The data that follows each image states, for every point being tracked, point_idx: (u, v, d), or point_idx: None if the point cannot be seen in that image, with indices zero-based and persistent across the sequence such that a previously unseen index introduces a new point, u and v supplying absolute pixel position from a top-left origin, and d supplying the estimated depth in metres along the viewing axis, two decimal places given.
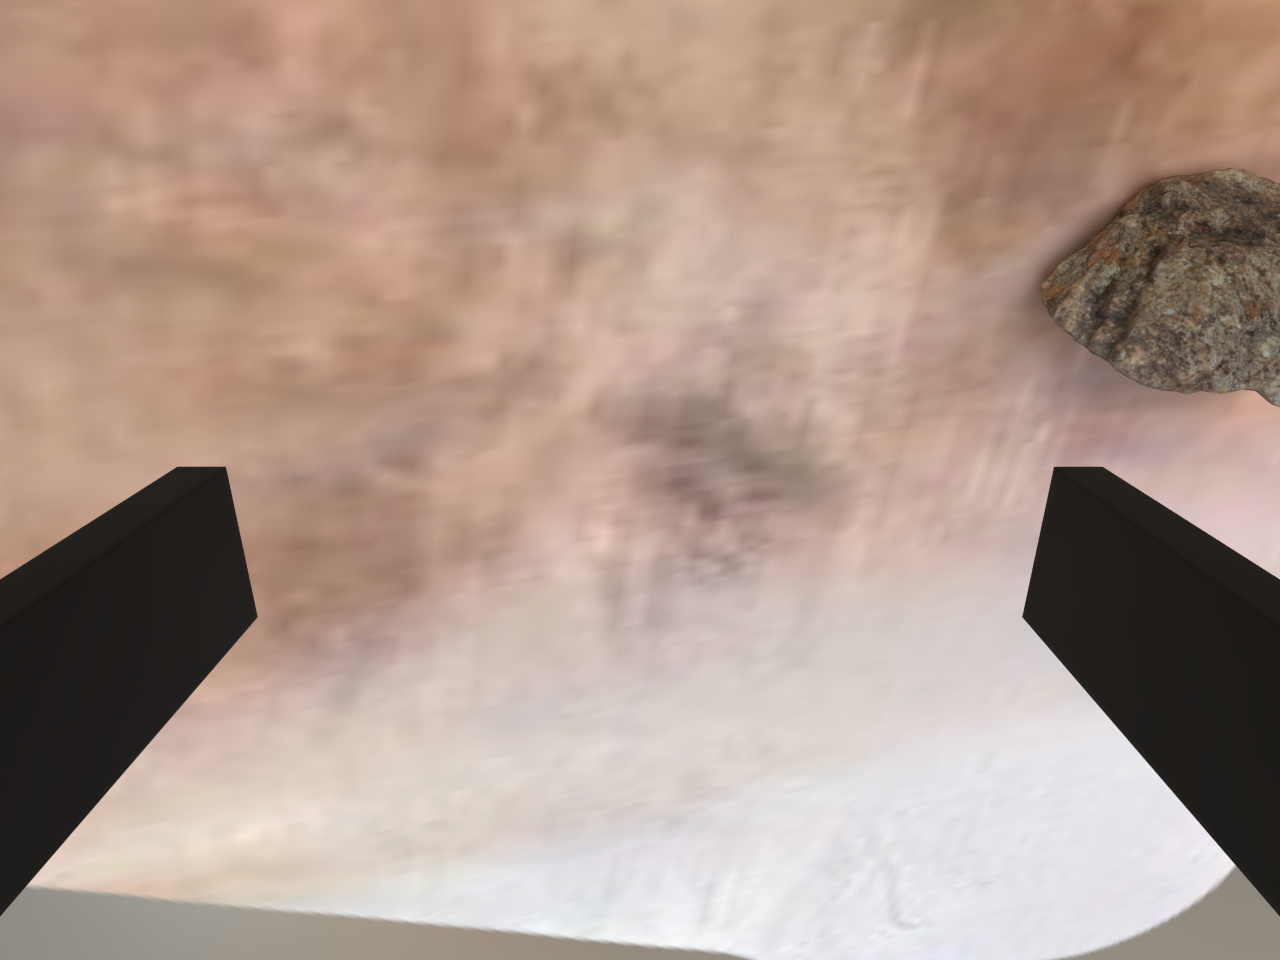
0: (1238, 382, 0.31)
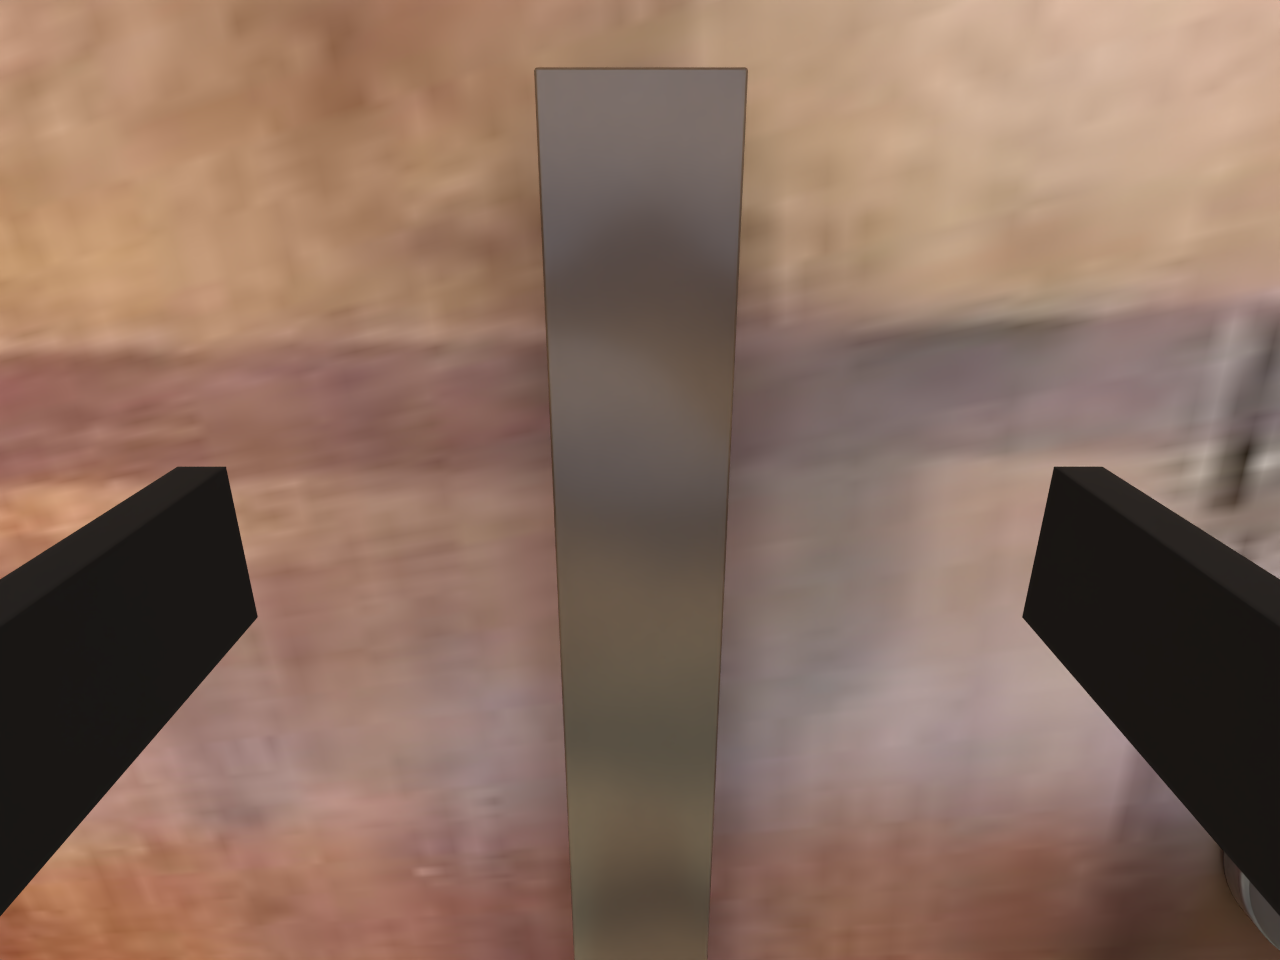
0: None
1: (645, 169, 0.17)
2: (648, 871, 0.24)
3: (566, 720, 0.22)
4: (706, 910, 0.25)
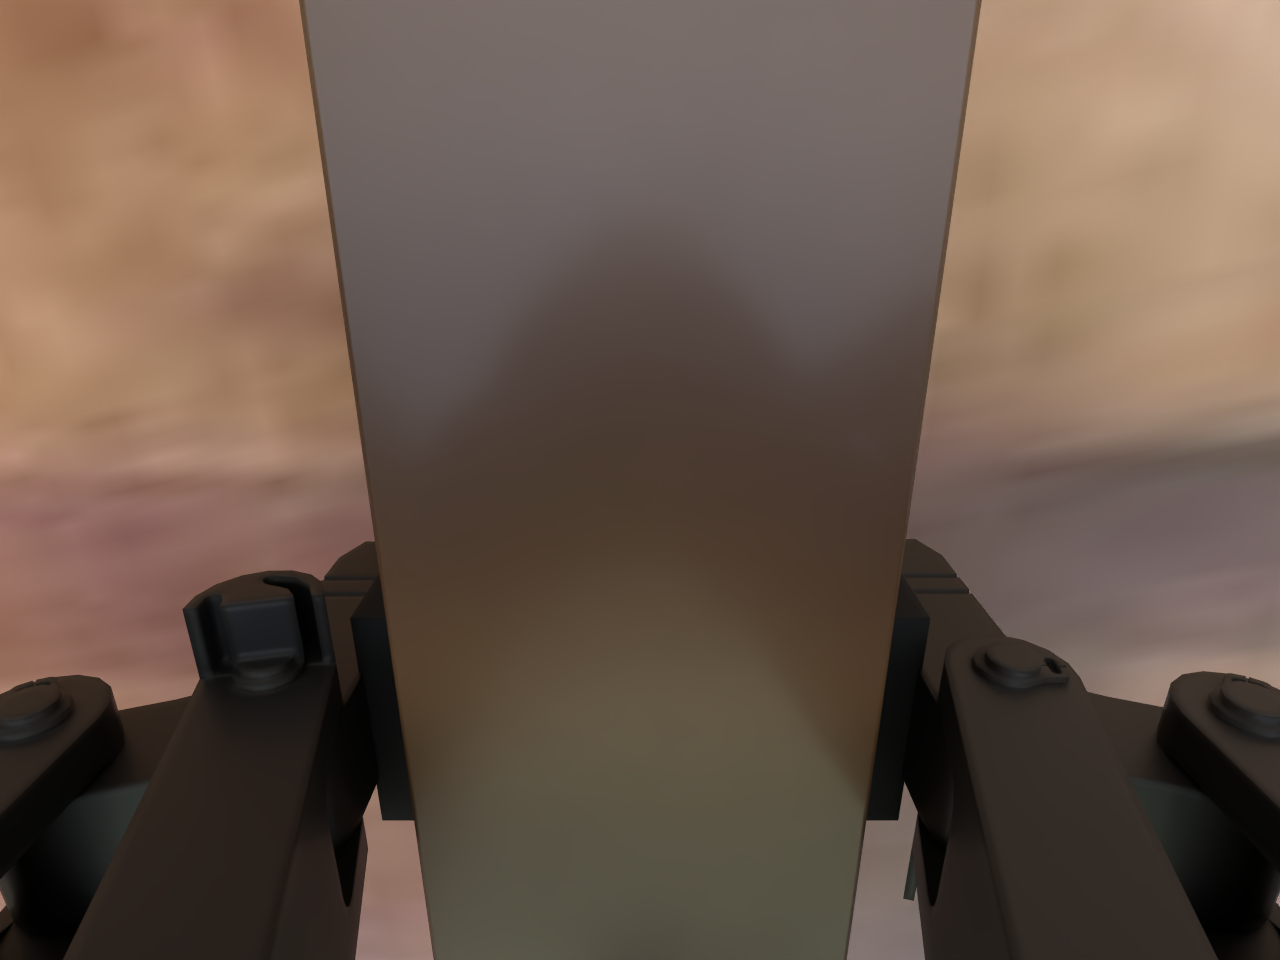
0: None
1: (652, 162, 0.05)
2: None
3: None
4: None
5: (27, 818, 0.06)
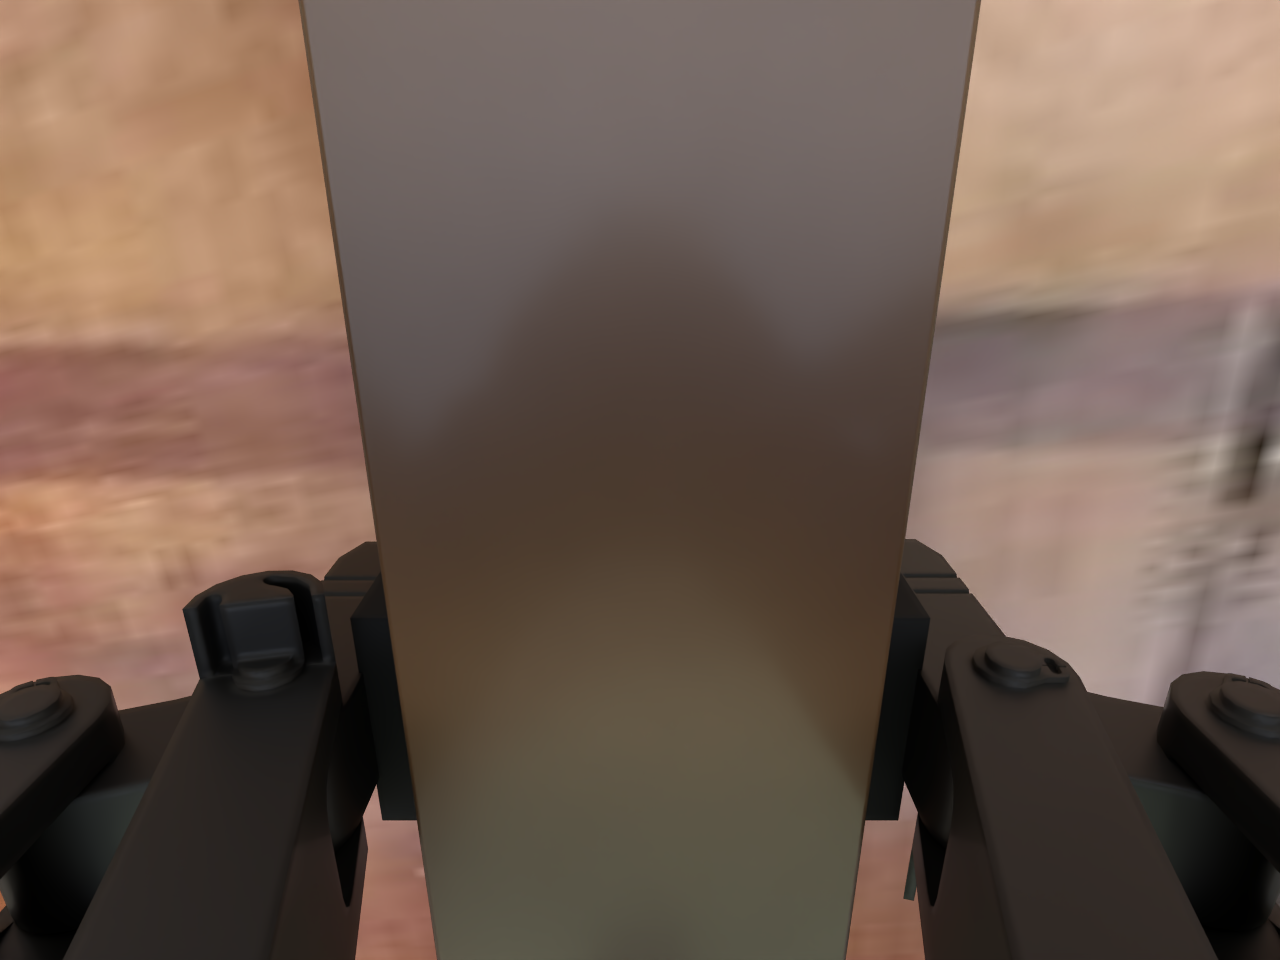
0: None
1: (652, 164, 0.05)
2: None
3: None
4: None
5: (27, 818, 0.06)
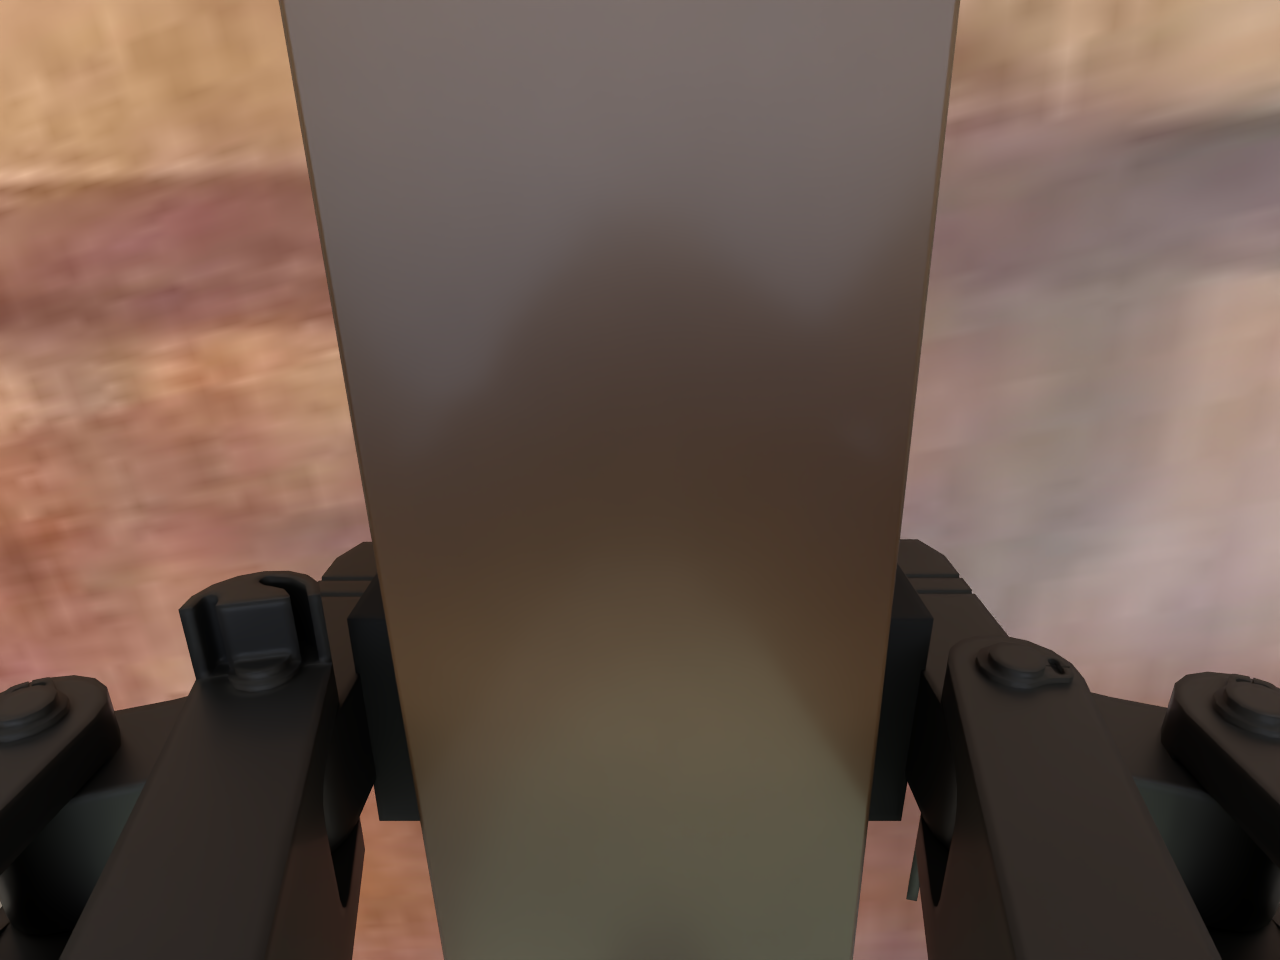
0: None
1: (637, 163, 0.05)
2: None
3: None
4: None
5: (23, 818, 0.06)
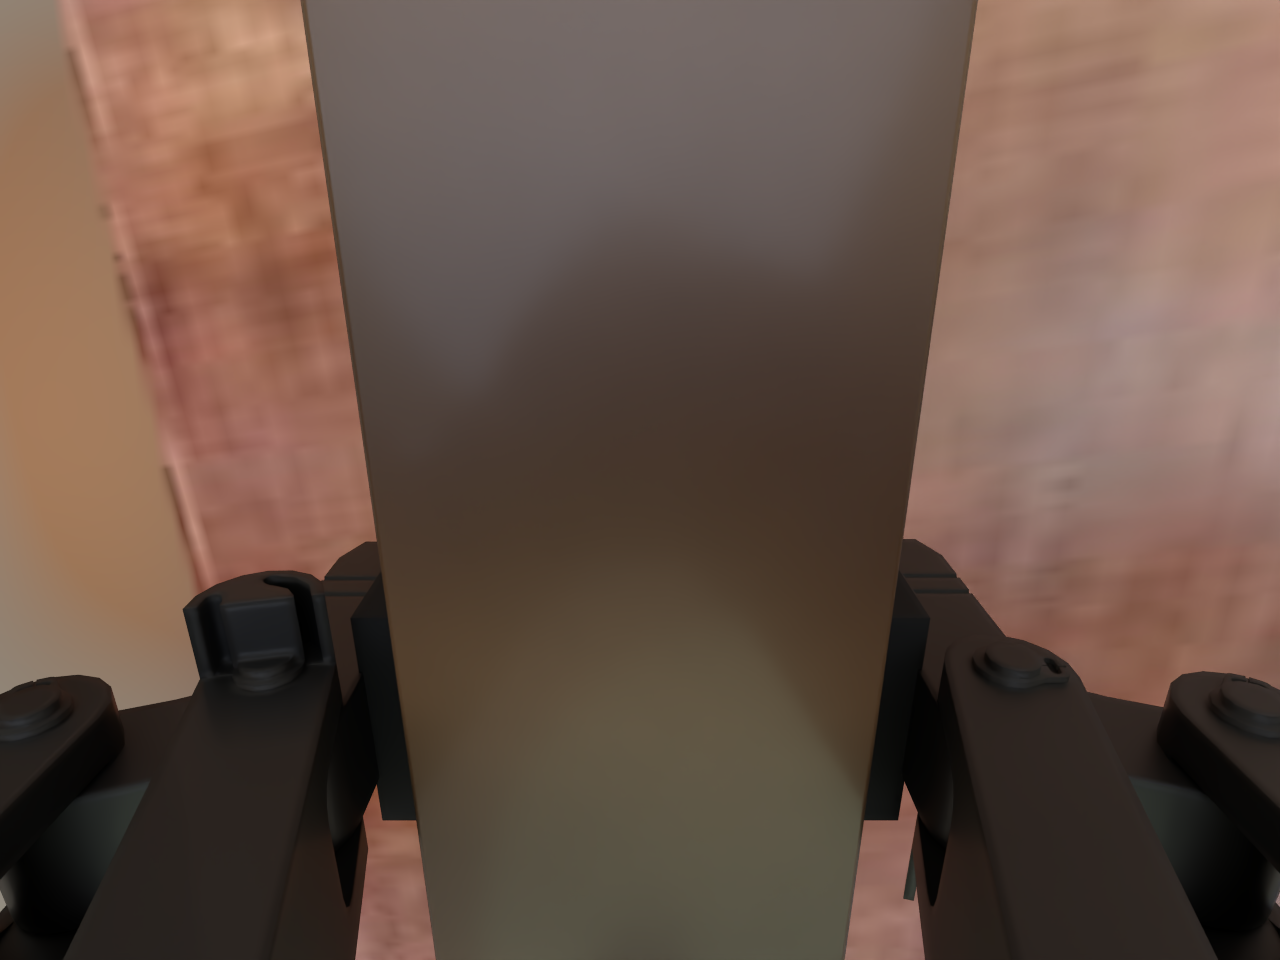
0: None
1: (651, 159, 0.05)
2: None
3: None
4: None
5: (28, 818, 0.06)
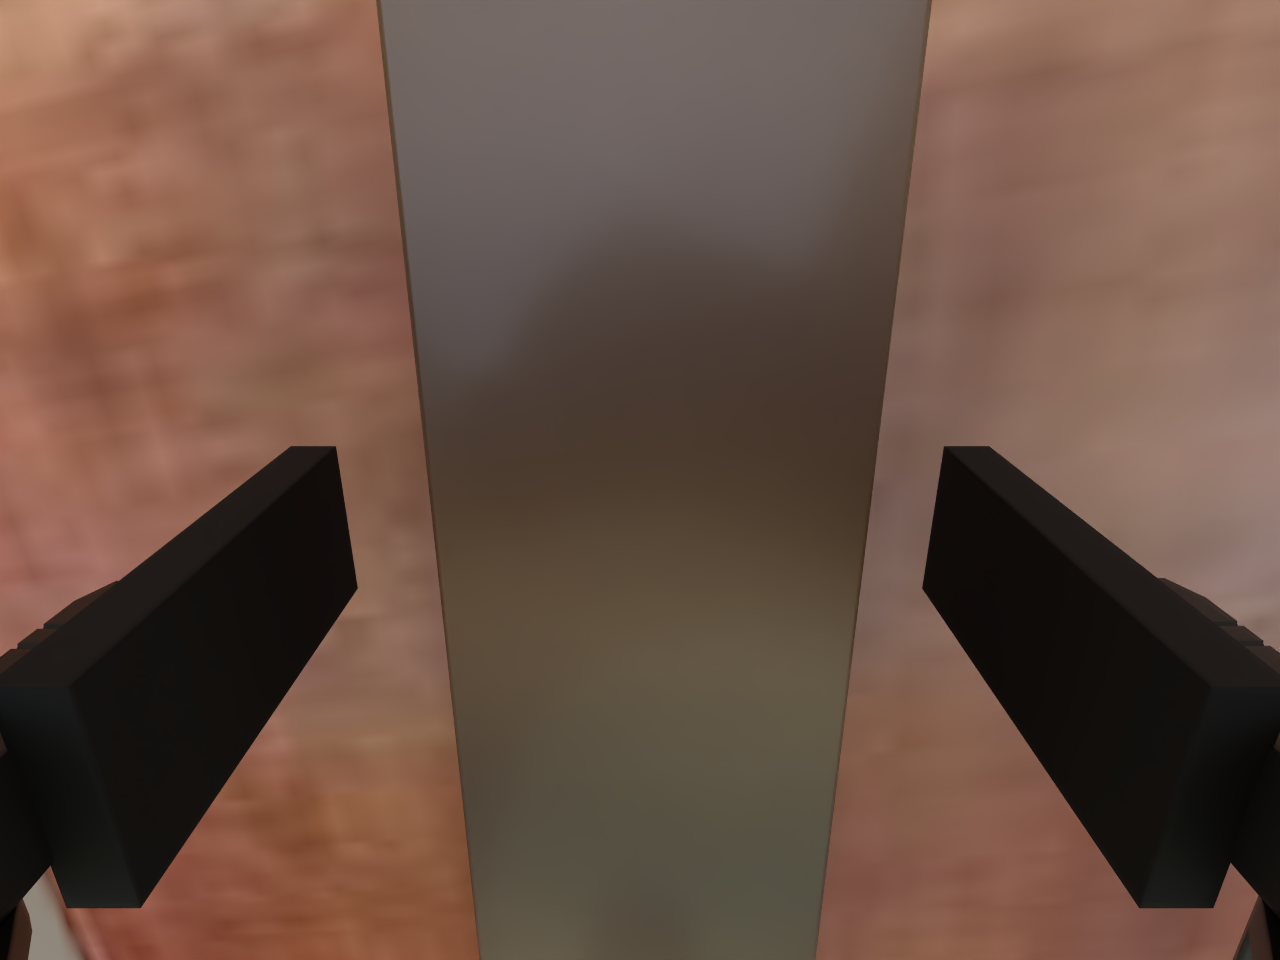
0: None
1: (663, 164, 0.07)
2: None
3: None
4: None
5: None
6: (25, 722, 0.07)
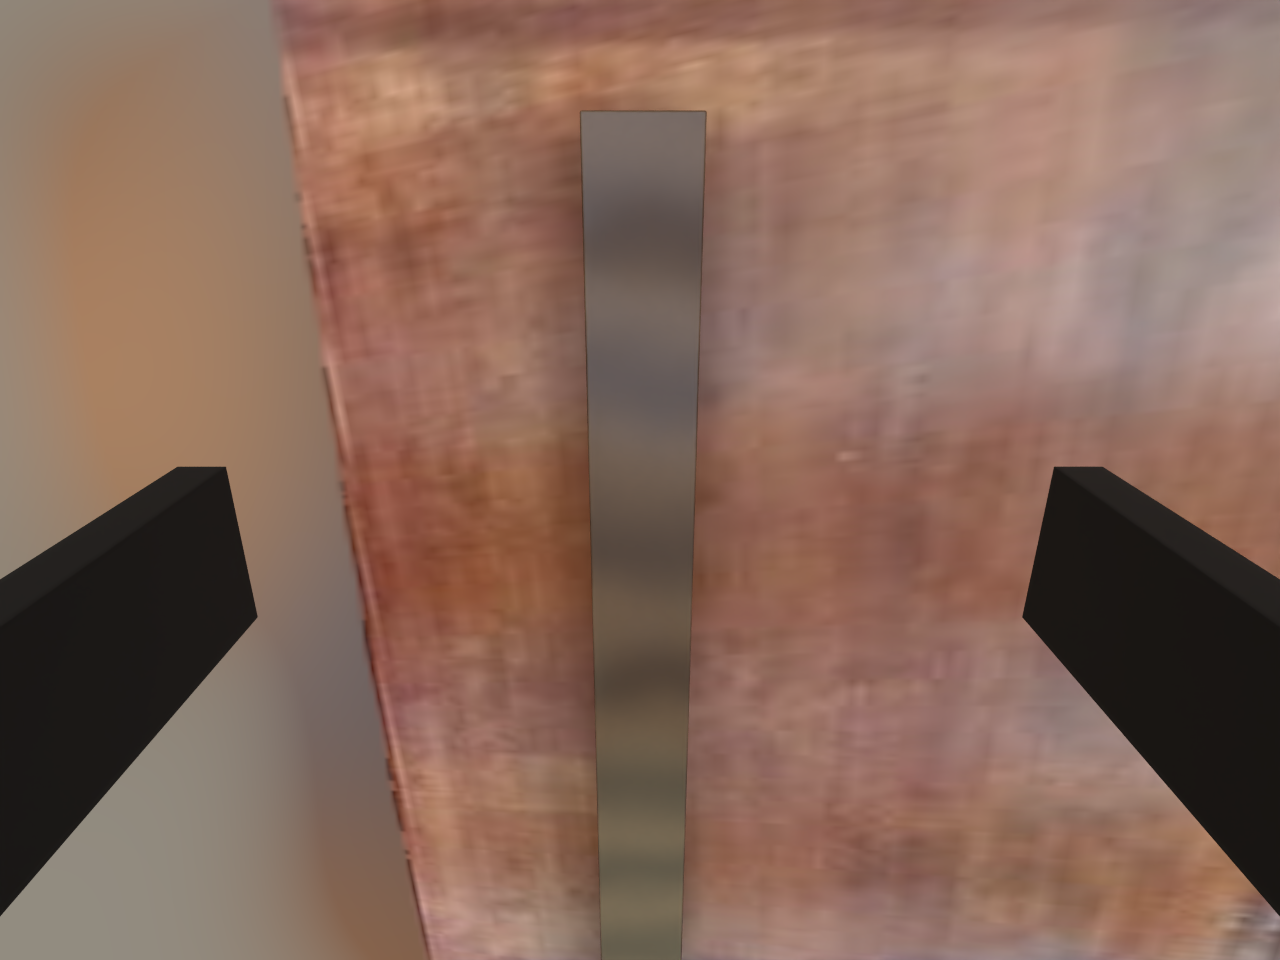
0: None
1: (645, 171, 0.28)
2: (647, 653, 0.35)
3: (592, 538, 0.33)
4: (687, 683, 0.36)
5: None
6: None
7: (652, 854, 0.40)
